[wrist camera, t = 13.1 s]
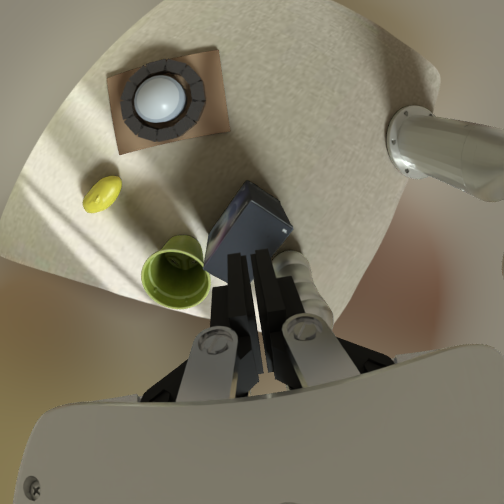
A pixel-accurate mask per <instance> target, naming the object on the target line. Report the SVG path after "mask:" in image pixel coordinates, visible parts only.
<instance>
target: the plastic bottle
mask: <svg viewBox="0 0 504 504" xmlns="http://www.w3.org/2000/svg"><path fill="white" fill-rule="evenodd" d="M272 264H273V268H274V271H275V275H276V278H279V277H286V276H292V278H293V280H294V283H295V286H296V288H297V291H298V294H299V296H300V299H301V302H302V305H303V307H304V310H305V313H311V314H315V315H317V316H319V317H321V318H322V319H323V320H324V321H325V322H326V323H327V325H328V326H329V327H330V329H331V330H332V328H333V323H334V319H333V313H332V311H331V309H330V307H329V306H328V304H327V303H326V302H325V300H324V299H323V298H322V296H321V295H320V294H319V292H318V290H317V288H316V286H315V285H314V281H313V278H312V275H311V268H310V264H309V262H308V260H307V259H306V258H305V257H304V256H303V255H302V254H301V253H299V252H297V251H285V252H282V253H280V254H279V255H277V256H276V257H275V258H274V259H273V260H272Z"/></svg>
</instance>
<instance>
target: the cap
mask: <svg viewBox="0 0 504 504" xmlns="http://www.w3.org/2000/svg"><path fill="white" fill-rule="evenodd" d="M134 104H135V109H136V111H137V113H138V114H139V116H140V117H142V118H143V119H144V120H146V121H149V122H156V123H157V122H168V121H171V120H174V119H176V118H177V117H179V116H180V115H181V114H182V113H183V111H184V110H185V108H186V105H187V93H186V90H185V89H184V87H183V86H182V85H181V84H180V83H178V82H177V81H176V80H174V79H173V78H171V77H168V76H163V75H159V76H154V77H151V78H149V79H147V80H146V81H144V82H143V83H142V84H141V85H140V87H139V88H138V90H137V92H136V94H135V99H134Z"/></svg>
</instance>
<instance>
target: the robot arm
mask: <svg viewBox="0 0 504 504" xmlns="http://www.w3.org/2000/svg"><path fill="white" fill-rule="evenodd" d="M387 148H388V153H389V156H390V159H391V161H392V163H393V164H394V166H395V167H396V169H397V170H398V171H400V172H401V173H402V174H404V175H405V176H407V177H410V178H413V179H423V178H426V177H428V176H431V177H433V178H436V179H438V180H440V181H443V182H445V183H447V184H449V185H451V186H453V187H455V188H458V189H460V190H462V191H464V192H466V193H468V194H470V195H472V196H474V197H476V198H478V199H480V200H482V201H485V202H498V201H501V200H504V129H501V128H496V127H491V126H487V125H482V124H476V123H472V122H467V121H460V120H455V119H448V118H441V117H436V116H435V115H434V114H433V113H432V112H431V111H429V110H428V109H426V108H424V107H421V106H414V105H412V106H406V107H404V108H402V109H400V110H399V111H398V112H397V113H396V114H395V115H394V116H393V118H392V120H391V121H390V124H389V127H388V132H387ZM250 257H251V263H252V270H253V277H254V284H255V291H256V298H257V305H258V311H259V318H260V324H261V330H262V336H263V343H264V349H265V355H266V361H267V368H268V372H274V376H275V379H277V380H279V381H281V382H282V383H284V384H286V388H287V391H283V392H277V393H271V394H265V395H257V396H251V391H250V389H251V388H252V387H253V386H254V385H255V384H256V383H257V382H259V377H258V374H262V373H264V372H263V366H262V359H261V352H260V345H259V338H258V331H257V324H256V316H255V310H254V303H253V297H252V290H251V284H250V277H249V271H248V264H247V258H246V255H243V256H241V253H233V254H227V270H228V285H226V286H219V287H213V289H212V304H211V321H210V328H208V329H205V330H203V331H202V332H200V333H199V334H198V335H197V336H196V338H195V340H194V342H193V346H192V348H191V352H190V355H189V358H188V359H187V360H186V361H185V362H184V363H182V364H181V365H180V366H179V367H177V368H176V369H175V370H173V371H172V372H171V373H169V374H168V375H167V376H165V377H164V378H163V379H162V380H160V381H159V382H157V383H156V384H155V385H153V386H152V387H151V388H150V389H148V390H147V391H146V392H145V393H144V394H143V396H140V397H139V396H138V395H137V394H134V395H128V396H123V397H118V398H111V399H105V400H98V401H92V402H78V403H70V404H65V405H62V406H58V407H55V408H53V409H50V410H49V411H47V412H45V413H44V414H43V415H42V416H41V417H40V418H39V420H38V421H37V423H36V424H35V426H34V428H33V430H32V432H31V435H30V437H29V440H28V442H27V445H26V448H25V451H24V454H23V458H22V461H21V465H20V468H19V473H18V478H17V482H16V488H15V493H14V500H13V504H504V355H503V354H502V353H500V352H499V351H498V350H496V349H495V348H493V347H491V346H488V345H483V344H463V345H457V346H451V347H447V348H444V349H437V350H431V351H424V352H417V353H410V354H401V355H396V356H395V358H393V359H391V358H389V357H388V356H386V355H384V354H382V353H379V352H376V351H373V350H370V349H368V348H365V347H362V346H359V345H357V344H354V343H351V342H349V341H346V340H343V339H340V338H338V337H336V336H335V335H334V333H333V332H332V330H331V329H330V327H329V326H328V325H327V323H326V322H325V321H324V320H323V319H322V318H321V317H319V316H317V315H315V314H311V313H305V310H304V307H303V305H302V302H301V299H300V296H299V294H298V291H297V288H296V286H295V283H294V280H293V278H292V276H286V277H279V278H276V275H275V271H274V268H273V264H272V261H271V257H270V254H269V251H268V248H267V249H260V250H255V254H250ZM502 275H503V278H504V255H503V260H502Z"/></svg>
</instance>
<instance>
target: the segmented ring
mask: <svg viewBox="0 0 504 504" xmlns="http://www.w3.org/2000/svg"><path fill="white" fill-rule="evenodd" d="M167 73H170V74H174V75H178V76H181V77H183V78H184V79H185V80H186V81H187V83H188V84H189V85H190V90H191V96H192V102H191V104H190V107H189V109H188V112H187V114H186V116H185V117H184V118H182V119H181V120H180V121H179V122H178V123H176V124H175V125H174V126H172V127H168V128H164V129H160V128H156V127H153V126H150V125H148V124H147V123H146V122H145V121H144V120H143V118H142V117H140V116H139V114H138V113H137V111H136V109H135V104H134V99H135V94H136V92H137V90H138V88H139V87H140V85H141V84H142V83H143V82H144V81H146V80H147V79H149V78H151V77H154V76H159V75H163V74H167ZM129 80H130V81H131V82H129V81H127V83H126V85H125V88H124V90H123V93H122V96H121V98H120V99H121V100H124V101H121V102H120V106H121V112H122V118H123V120H125V121H124V123H125V124H126V125H127V126H128V127H129V129H130V130H131V131H132V132H133V133H134V134H135V135H138V137H140V138H143V139H147V140H150V141H153V142H157V141H158V142H161V141H165V140H169V139H174V138H178V137H180V136H183V135H184V134H185V133H186V132H187V131H189V130H190V129H191V128H192V127H194V126H195V125H196V124H197V122H196V121H199V120H200V118H201V115H202V113H203V110H204V108H205V106H206V103H205V102H206V101H207V100H206V93H205V86H204V83H203V80H202V79H201V78H200V77H199V76H198V74H197V73H196V72H195V71H194V70H193V69H192V68H191V67H190V66H189V65H187V64H186V63H182V62H179V61H175V60H171V59H168V60H166V59H163V60H159V61H155V62H151V63H148V64H146V66H144V65H143V66H142V67H141V68H140V69H139V70H138V71H137V72H136V73H134V74H133V75H132V76H131V77H130V78H129Z"/></svg>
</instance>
